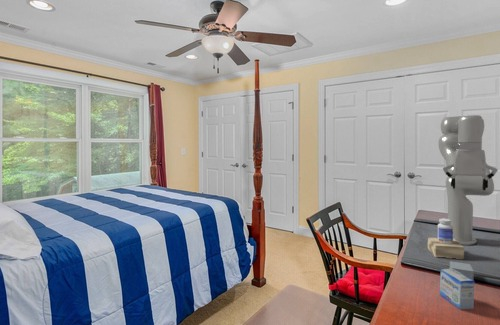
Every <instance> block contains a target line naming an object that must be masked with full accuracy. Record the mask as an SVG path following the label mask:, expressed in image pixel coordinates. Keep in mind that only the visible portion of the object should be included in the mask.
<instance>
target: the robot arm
mask: <svg viewBox="0 0 500 325" xmlns="http://www.w3.org/2000/svg"><path fill="white" fill-rule="evenodd" d="M440 130H441V134H442V135H441V136H440V137H439V139H438V149H439V153H440V155H441V156H442V157H443V159H444V160H445V164H446V166H444V167H443V168H442V170H443V172H444V173H445V175H446V176H447V177H446V179H445V188H446V194H447V219H450V220H451V224H450V225H452V226H453V239H455V240H456V241H457V242H458V243H460V244H461V245H462V246H463V245H465V246H471V245H475V244H477V242H478V241H477V239H476V238H474V237H473V230H474V229H473V226H474V225H473V224H474V223H473V222H474V221H473V219H474V205H473V203H472V201H471V200H470V199H469V198H468V197H467V196H480V197H481V196H485V197H486V196H490V195H492V194H493V192H494V191H495V183H494V179H493V177H494V176H495V175H496V174H497V173H498V170H499V169H498V168H496V167H493V166H491V165H489V164H488V163H487V161H486V160H487V159H486V151H485V150H484V149H482V148H483V147H482V146H483V143H482V142H483V134H484V131H485V120H484V119H483V117H482V116H481V115H475V114H472V115H461V116H460V115H459V116H448V117H444V118H442V120H441V122H440Z"/></svg>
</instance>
